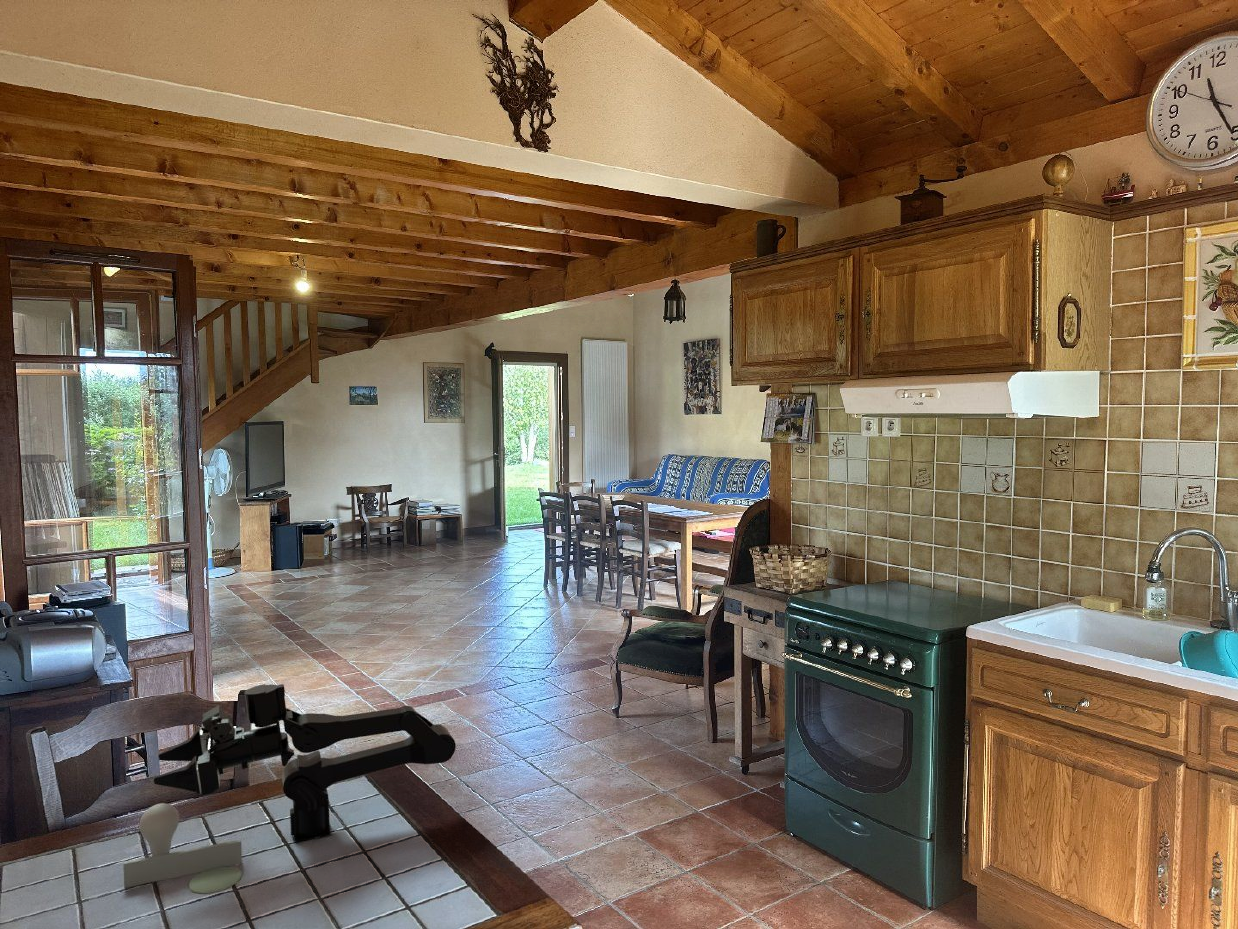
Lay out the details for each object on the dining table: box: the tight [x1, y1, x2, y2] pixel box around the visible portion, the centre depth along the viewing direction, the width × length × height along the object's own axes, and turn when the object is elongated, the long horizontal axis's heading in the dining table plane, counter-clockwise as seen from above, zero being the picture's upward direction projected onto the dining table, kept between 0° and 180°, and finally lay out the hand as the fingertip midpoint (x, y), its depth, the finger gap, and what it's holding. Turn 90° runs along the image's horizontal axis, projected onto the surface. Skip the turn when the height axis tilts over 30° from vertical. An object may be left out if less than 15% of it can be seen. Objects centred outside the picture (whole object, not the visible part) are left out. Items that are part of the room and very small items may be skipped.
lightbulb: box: [139, 803, 180, 857], centre depth 147 cm, size 6×6×11 cm
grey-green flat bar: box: [122, 839, 243, 889], centre depth 145 cm, size 18×1×4 cm, turn 113°
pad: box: [188, 866, 242, 894], centre depth 142 cm, size 8×8×1 cm
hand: (156, 769), depth 149 cm, fingers open, 9 cm apart
